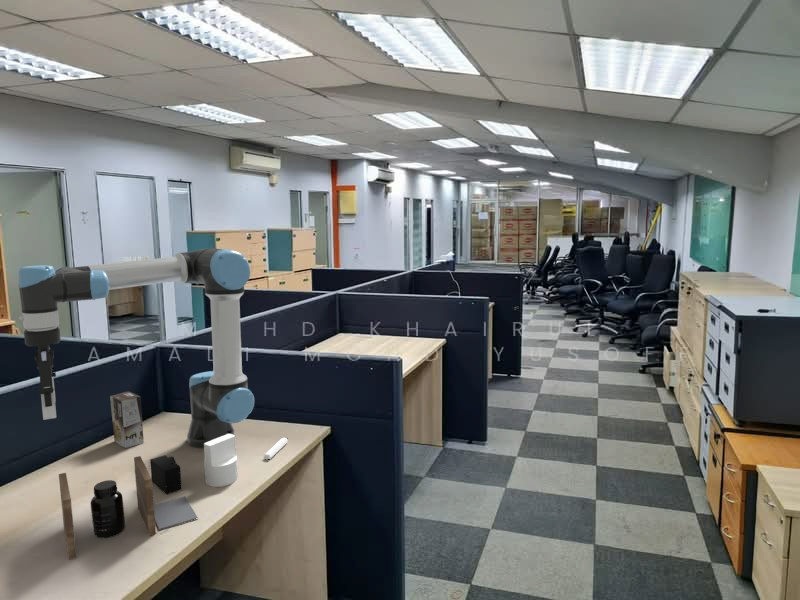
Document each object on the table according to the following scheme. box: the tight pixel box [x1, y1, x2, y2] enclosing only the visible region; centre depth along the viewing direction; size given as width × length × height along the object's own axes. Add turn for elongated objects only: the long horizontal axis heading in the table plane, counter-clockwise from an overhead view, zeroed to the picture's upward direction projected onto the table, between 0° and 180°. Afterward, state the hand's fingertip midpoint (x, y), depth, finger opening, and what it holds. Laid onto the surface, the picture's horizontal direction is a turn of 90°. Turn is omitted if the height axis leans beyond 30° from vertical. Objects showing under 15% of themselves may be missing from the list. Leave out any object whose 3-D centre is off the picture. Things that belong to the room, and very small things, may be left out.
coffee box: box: [109, 390, 145, 449], centre depth 186 cm, size 9×6×16 cm
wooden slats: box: [58, 455, 157, 560], centre depth 133 cm, size 18×15×14 cm
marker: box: [263, 437, 289, 460], centre depth 181 cm, size 3×2×16 cm
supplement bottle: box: [90, 479, 126, 539], centre depth 134 cm, size 7×7×12 cm
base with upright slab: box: [203, 434, 239, 488], centre depth 160 cm, size 9×9×12 cm
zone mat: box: [154, 495, 199, 531], centre depth 143 cm, size 9×13×1 cm
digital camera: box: [149, 454, 182, 495], centre depth 157 cm, size 10×5×7 cm, turn 45°
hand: (49, 410), depth 142 cm, fingers open, 13 cm apart
